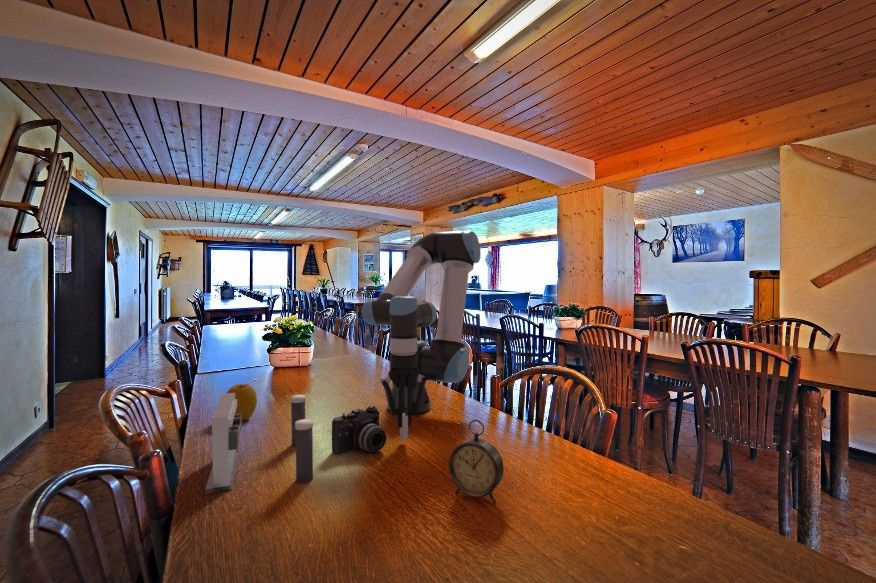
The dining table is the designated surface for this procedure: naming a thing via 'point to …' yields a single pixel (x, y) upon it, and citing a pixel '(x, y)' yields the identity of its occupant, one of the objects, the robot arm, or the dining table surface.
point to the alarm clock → (476, 466)
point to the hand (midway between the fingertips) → (403, 438)
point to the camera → (357, 431)
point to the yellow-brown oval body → (244, 400)
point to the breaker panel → (224, 444)
